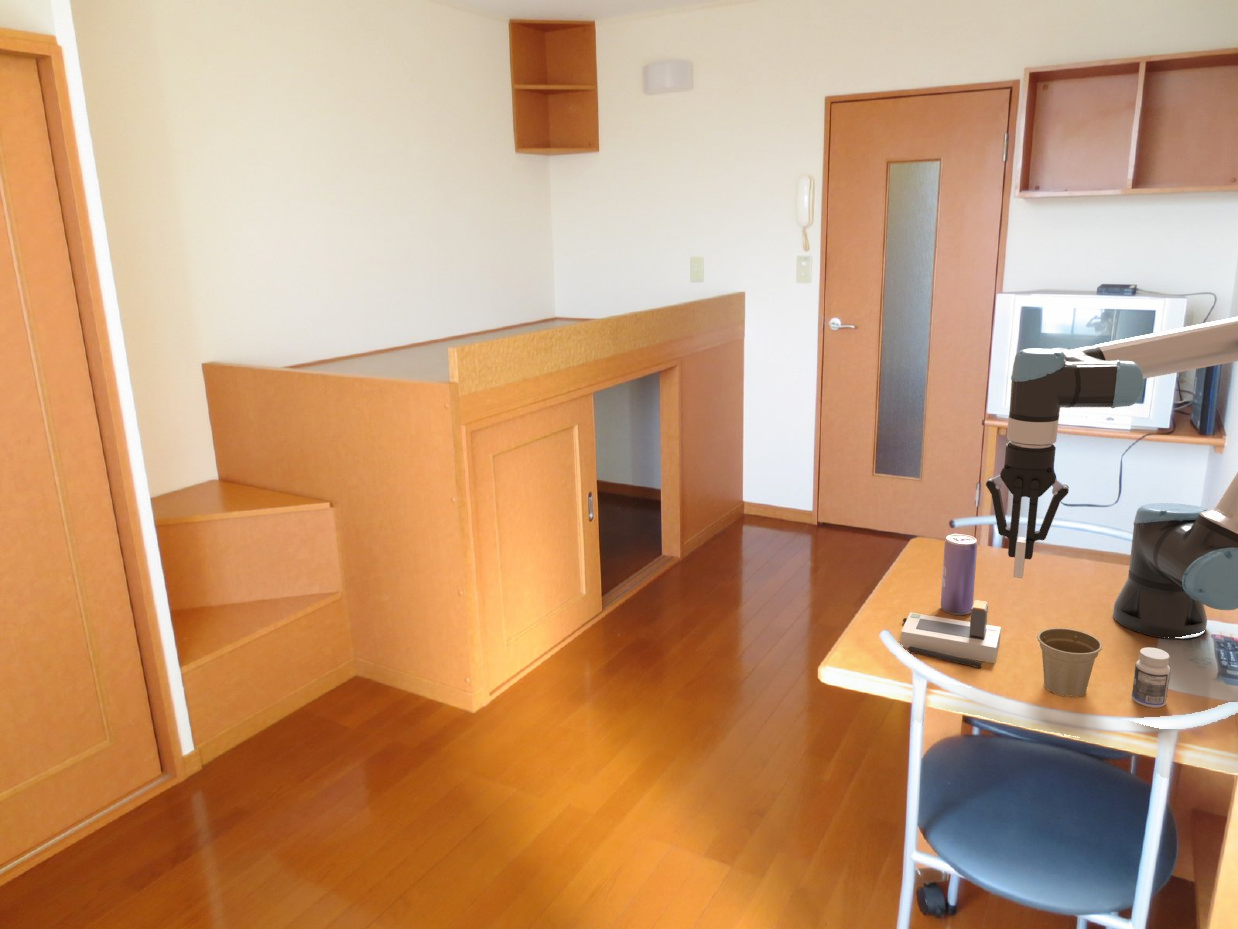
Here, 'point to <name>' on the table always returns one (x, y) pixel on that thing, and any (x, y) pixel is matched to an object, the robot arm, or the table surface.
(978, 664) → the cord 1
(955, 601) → the beverage can
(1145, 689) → the pill bottle
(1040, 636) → the flower pot
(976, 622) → the lever
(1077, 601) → the table surface
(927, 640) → the white slider switch base
